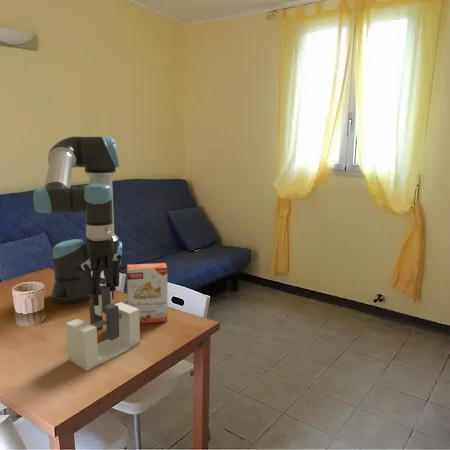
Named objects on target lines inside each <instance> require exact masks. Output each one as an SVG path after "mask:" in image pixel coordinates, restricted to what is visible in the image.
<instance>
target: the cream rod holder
mask: <svg viewBox="0 0 450 450" xmlns="http://www.w3.org/2000/svg"><path fill="white" fill-rule="evenodd" d="M113 304H114V303H113ZM114 305H117V306H118V313H119V337H118V338H116V339H114V340H112V341H111V340H109V339H107V338H106V339H105V340H102V341H101V342H99V343H98V331H97V328H99V327H101V326H103V327H104V326H105V325H106V317H105V318H102V320H100V321H98V322H95V323H93V324H90V323H89V322H86V321H85V320H82V319H80V318H75V319H73V320H70V321H68V322H66V323H65V329H66V330H65V331H66V343H67V360H68V361H69V362H71V363H72V364H74V365H76V366H77V367H79V368H81V369H82V370H84V371H87V372H88V371H89V370H92V369H93V368H96V367H98V366H99V365H101V364H104V363H105V362H107V361H109V360H111V359H113V358H115V357H117V356H119V355H121V354H123V353H125V352H127V351H128V350H130V349H132V348H135V347H136V346H139V345H140V344H141V337H140V336H141V334H140V333H141V332H140V331H141V330H140V328H141V327H140V326H141V324H139V309H137V308H135V307H132V306H130V305H127V304H124V302H122V301H120V302H118V303H115V304H114ZM106 326H107V325H106Z"/></svg>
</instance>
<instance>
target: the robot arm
mask: <svg viewBox="0 0 450 450" xmlns="http://www.w3.org/2000/svg"><path fill="white" fill-rule="evenodd" d="M119 160H120V159H119V154H118V149H117V143H116V140H115V139H114V138H113V137H109V136H69V137H66V138H63V139H61V140H59V141H58V142H56V143H55V144H54V145H53V146H52V147H51V148H50V150H49V152H48V155H47V162H48V169H47V173H46V178H45V182H44V186H43V187H39V188H38V187H37V188H35V189H34V191H33V195H32V196H33V197H32V201H33V208H34V210H35V212H36V213H39V214H64V213H85V233H86V234H85V235H86V238H87V239H86V243H85V242H84V240H83V239H77V238H74V239H67V240H64V241H61V242H58V243H56V244H55V245H54V246H53V248H52V259H53V271H54V273H53V274H54V283H53V286H52V289H51V294H50V297H51V301H52V302H54V303H57V304H66V305H67V304H69V305H70V304H77V303H79V302H83V301H86V300H87V299H89V298H90V297H91V300H92V304H93V305H94V307H95V314H97V315H99V316H102V317H103V316H104V315H103V314H104V313H103V312H102V295H101V294H99V289H100V286H101V274H102V273H103V276H104V282H105V286H107V287H110V298H111V303H112V304H113V300H114V298H115V296H114V295H115V293H114V292H115V291H117V287H119V286H120V271H121V270H120V269H121V262H122V256H123V254H122V253H123V242H122V241H120V240H119V237H118V235H116V234H115V221H114V220H115V218H114V214H115V213H114V196H113V194H114V193H113V190H114V189H113V176H114V175H115V174H116V173H117V169H118V168H119V167H120V162H119ZM74 168H84V173H85V174H86V175H87V176H88V179H89V184H87V185H85V186H84V187H83V186H82V187H71V183H72V176H73V175H72V173H73V169H74ZM116 168H117V169H116Z"/></svg>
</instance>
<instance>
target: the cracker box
mask: <svg viewBox="0 0 450 450" xmlns="http://www.w3.org/2000/svg"><path fill="white" fill-rule="evenodd" d="M126 277H127V279H126V281H127V284H126V285H127V286H126V287H127V290H126V291H127V298H128V305H130V306H132V307H135V308H137V309H139V324H140V325H143V324H154V323H167V322H168V312H169V311H168V266H167V262H166V263H165V262H161V263H139V264H137V263H136V264H126Z"/></svg>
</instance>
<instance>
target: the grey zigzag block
mask: <svg viewBox="0 0 450 450" xmlns="http://www.w3.org/2000/svg"><path fill="white" fill-rule="evenodd" d="M99 294H101V295H102V314H105V318H106V340H107V339H109V340H111V341H112V340H114V339H116V338H118V337H119V313H118V306H117V305H114V303H113V302H112V303H111V298H110V287H107V286H106V284H105V285H100V289H99ZM88 303H89V322H90V323H89V324H93V323H95V322H98V321H100V320H103V315H102V316H99V315H97V314H95V307H94V305H93V304H92V299H91V300H89V301H88ZM103 329H104V326H101V327H99V328H97V332H100V331H102V330H103Z"/></svg>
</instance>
